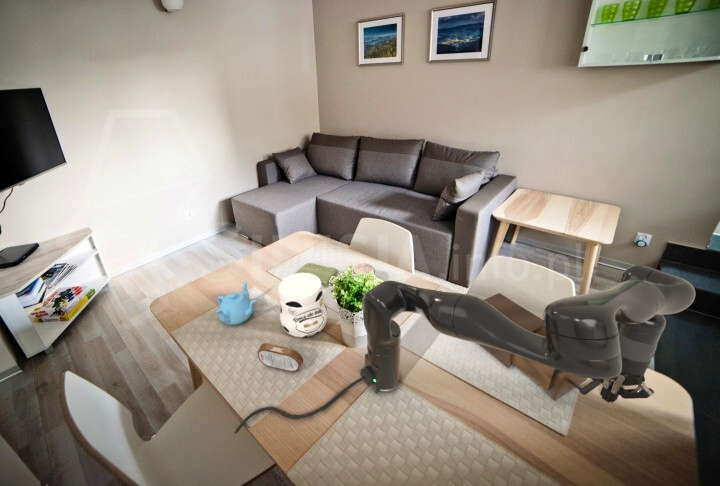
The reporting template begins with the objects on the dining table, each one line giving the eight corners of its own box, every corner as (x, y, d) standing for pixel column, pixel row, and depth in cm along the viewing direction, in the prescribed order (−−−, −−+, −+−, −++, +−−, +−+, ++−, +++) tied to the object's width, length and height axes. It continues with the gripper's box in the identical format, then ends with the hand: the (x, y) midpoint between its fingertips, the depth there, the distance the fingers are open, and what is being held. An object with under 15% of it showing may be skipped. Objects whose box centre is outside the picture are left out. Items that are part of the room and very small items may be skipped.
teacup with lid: (369, 296, 133) (369, 272, 128) (349, 290, 138) (348, 266, 133) (381, 280, 142) (381, 257, 137) (362, 275, 147) (361, 252, 142)
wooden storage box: (540, 349, 103) (548, 323, 98) (507, 368, 98) (514, 341, 93) (494, 317, 117) (499, 292, 112) (463, 332, 112) (467, 307, 107)
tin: (304, 368, 103) (302, 348, 100) (301, 376, 101) (298, 356, 97) (262, 358, 108) (258, 339, 105) (258, 365, 106) (254, 346, 102)
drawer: (603, 392, 88) (613, 368, 84) (571, 414, 83) (580, 390, 79) (532, 342, 104) (538, 321, 100) (502, 359, 99) (507, 337, 96)
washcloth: (306, 265, 158) (306, 259, 156) (339, 273, 150) (339, 267, 148) (291, 280, 147) (291, 274, 146) (326, 289, 139) (325, 283, 138)
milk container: (311, 349, 110) (306, 307, 103) (272, 331, 119) (264, 292, 111) (336, 317, 123) (333, 277, 116) (299, 303, 132) (294, 266, 124)
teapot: (216, 310, 133) (211, 289, 128) (253, 299, 137) (248, 278, 133) (220, 334, 120) (214, 312, 116) (260, 320, 125) (256, 299, 120)
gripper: (586, 334, 78) (569, 384, 85) (658, 376, 66) (631, 430, 74) (605, 323, 80) (587, 373, 87) (677, 361, 69) (649, 415, 76)
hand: (607, 399), depth 81 cm, fingers closed
